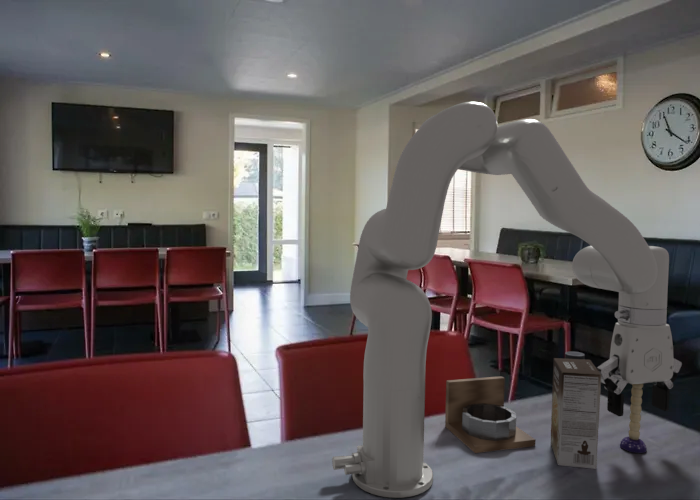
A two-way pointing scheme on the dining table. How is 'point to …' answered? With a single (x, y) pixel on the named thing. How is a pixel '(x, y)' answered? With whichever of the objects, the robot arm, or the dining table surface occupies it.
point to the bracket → (476, 393)
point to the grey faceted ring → (489, 422)
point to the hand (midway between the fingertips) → (637, 410)
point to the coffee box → (575, 412)
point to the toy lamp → (634, 423)
